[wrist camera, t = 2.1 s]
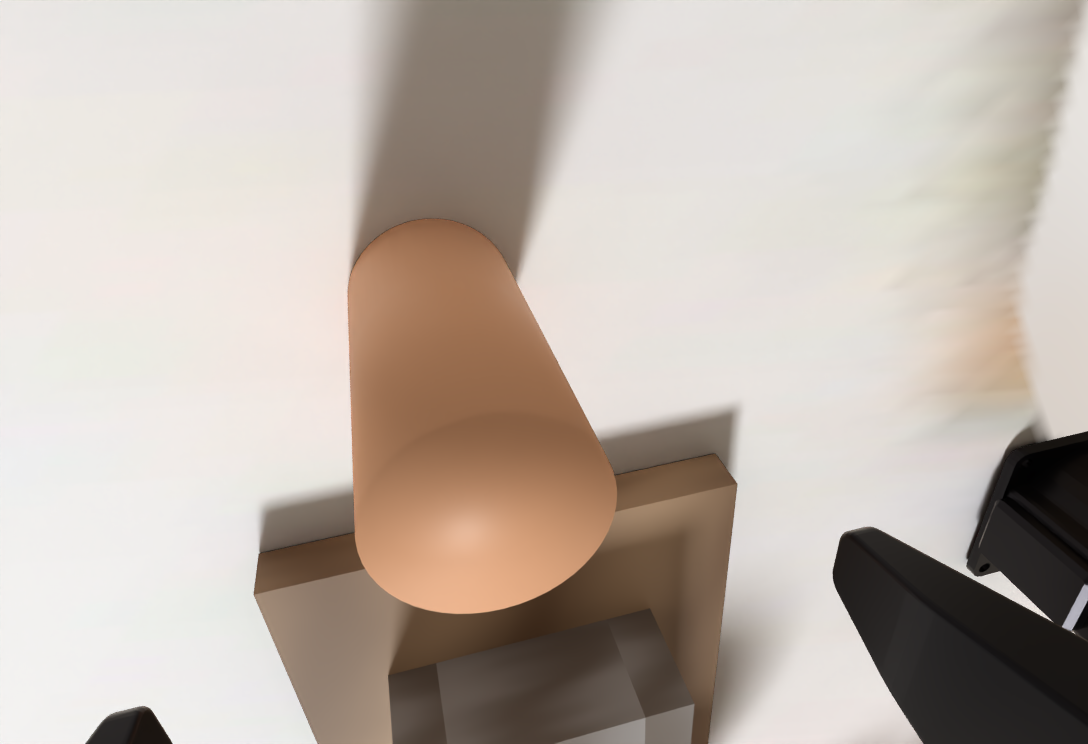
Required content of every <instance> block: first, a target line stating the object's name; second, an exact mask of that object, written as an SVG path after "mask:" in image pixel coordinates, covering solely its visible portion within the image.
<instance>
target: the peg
mask: <svg viewBox="0 0 1088 744" xmlns="http://www.w3.org/2000/svg"><path fill="white" fill-rule="evenodd" d="M348 327H349V360H350V392H351V425H352V458H353V491H354V523H355V542H356V547H357V552H358V554H359V557H360V559H361V562H362V564H363V566H364V567H365V569H366V571H367V572H368V574H369V575H370V576H371V577H372V579H373V580H374V581H375V582H376V583H377V584H378V585H379V586H380V587H381V588H383V589H384V590H385V591H386V592H388V593H389V594H391V595H392V596H394V597H396V598H397V599H399V600H401V601H403V602H405V603H408V604H410V605H412V606H415V607H419V608H422V609H425V610H430V611H435V612H441V613H452V614H473V613H482V612H490V611H495V610H500V609H505V608H508V607H511V606H515V605H518V604H521V603H524V602H526V601H529V600H531V599H534V598H536V597H538V596H540V595H542V594H544V593H546V592H548V591H550V590H551V589H553V588H555V587H556V586H558V585H560V584H561V583H563V582H564V581H565V580H567V579H568V578H569V577H571V576H572V575H573V574H575V573H576V572H577V571H578V570H579V569H580V568H581V567H582V566H583V565H584V564H585V563H586V562H587V561H588V560H589V559H590V558H591V557H592V556H593V554H594V553H595V552H596V550H597V549H598V548H599V546H600V545H601V543H602V542H603V540H604V538H605V536H606V535H607V533H608V531H609V528H610V526H611V523H612V521H613V518H614V514H615V509H616V503H617V486H616V479H615V476H614V472H613V469H612V467H611V464H610V462H609V460H608V458H607V456H606V454H605V452H604V450H603V449H602V447H601V445H600V443H599V441H598V439H597V437H596V435H595V433H594V431H593V429H592V427H591V425H590V424H589V422H588V420H587V418H586V416H585V414H584V412H583V410H582V408H581V406H580V404H579V402H578V400H577V398H576V397H575V395H574V393H573V391H572V389H571V387H570V385H569V383H568V381H567V379H566V377H565V375H564V373H563V372H562V370H561V368H560V366H559V364H558V362H557V360H556V358H555V356H554V354H553V352H552V350H551V348H550V347H549V345H548V343H547V341H546V339H545V337H544V335H543V333H542V331H541V329H540V327H539V325H538V323H537V321H536V320H535V318H534V316H533V314H532V312H531V310H530V308H529V306H528V304H527V302H526V300H525V298H524V296H523V295H522V293H521V291H520V289H519V287H518V285H517V283H516V281H515V279H514V277H513V275H512V273H511V271H510V269H509V268H508V266H507V264H506V262H505V260H504V258H503V256H502V255H501V253H500V252H499V250H498V249H497V248H496V247H495V245H494V244H493V243H492V242H491V241H490V240H489V239H487V238H486V237H485V236H484V235H483V234H481V233H480V232H478V231H476V230H475V229H473V228H471V227H469V226H467V225H464V224H462V223H458V222H455V221H451V220H445V219H431V218H430V219H419V220H414V221H409V222H406V223H403V224H400V225H397V226H395V227H393V228H391V229H389V230H387V231H386V232H384V233H383V234H381V235H380V236H378V237H377V238H376V239H375V240H374V241H372V242H371V243H370V244H369V245H368V246H367V247H366V249H365V250H364V251H363V252H362V254H361V255H360V257H359V258H358V260H357V261H356V263H355V266H354V268H353V270H352V273H351V276H350V279H349V285H348Z"/></svg>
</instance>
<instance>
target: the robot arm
mask: <svg viewBox="0 0 1088 744" xmlns="http://www.w3.org/2000/svg"><path fill="white" fill-rule="evenodd" d="M966 567H967V568H968V569H969V570H970V571H971V572H972V573H973V574H974V575H975V576H977V577H978V576H983V575H987V574H991V573H995V572H998V571H1001V572H1002V573H1003V574H1004V575H1005V576H1006V577H1007V578H1008V579H1009V580H1010V581H1011V582H1012V583H1013V584H1014V585H1015V586H1016V587H1017V588H1018V589H1019V590H1020V591H1021V592H1022V593H1024V594H1025V595H1026V596H1027V597H1028V598H1029V599H1030V600H1031V601H1032V602H1033V603H1034V604H1035V605H1036V606H1037V607H1038V608H1039V609H1040V610H1041V611H1042V612H1043V613H1044V614H1045V615H1047V616H1048V617H1049V618H1050V619H1051V620H1052V621H1053V622H1054V623H1053V622H1052V621H1050V620H1048V619H1046V618H1044V617H1042V616H1040V615H1038V614H1037V613H1035V612H1033V611H1031V610H1029V609H1027V608H1025V607H1023V606H1022V605H1020V604H1018V603H1016V602H1014V601H1012V600H1010V599H1008V598H1007V597H1005V596H1003V595H1001V594H999V593H997V592H995V591H993V590H992V589H990V588H988V587H986V586H984V585H982V584H980V583H978V582H977V581H975V580H973V579H971V578H969V577H967V576H965V575H963V574H962V573H960V572H958V571H956V570H954V569H952V568H950V567H948V566H947V565H945V564H943V563H941V562H939V561H937V560H935V559H933V558H932V557H930V556H928V555H926V554H924V553H922V552H920V551H918V550H917V549H915V548H913V547H911V546H909V545H907V544H905V543H903V542H902V541H900V540H898V539H896V538H894V537H892V536H890V535H888V534H887V533H885V532H883V531H881V530H879V529H877V528H874V527H863V528H859V529H855V530H851V531H847V532H845V533H844V534H843V535H842V536H841V538H840V541H839V546H838V550H837V554H836V559H835V563H834V568H833V581H834V585H835V588H836V590H837V592H838V594H839V596H840V598H841V600H842V602H843V603H844V605H845V607H846V609H847V611H848V613H849V615H850V617H851V619H852V621H853V623H854V625H855V627H856V628H857V630H858V632H859V634H860V636H861V638H862V640H863V642H864V644H865V646H866V648H867V650H868V652H869V653H870V655H871V657H872V659H873V661H874V663H875V665H876V667H877V669H878V671H879V673H880V675H881V676H882V678H883V680H884V682H885V684H886V685H887V687H888V689H889V691H890V692H891V694H892V696H893V697H894V699H895V700H896V702H897V704H898V705H899V707H900V708H901V710H902V712H903V713H904V715H905V716H906V718H907V719H908V721H909V722H910V724H911V725H912V727H913V728H914V730H915V731H916V733H917V735H918V736H919V738H920V739H921V741H922V742H923V744H1088V431H1087V432H1083V433H1079V434H1075V435H1070V436H1066V437H1062V438H1058V439H1054V440H1049V441H1045V442H1041V443H1037V444H1032V445H1028V446H1024V447H1020V448H1018V449H1016V450H1014V451H1013V452H1012V453H1011V454H1010V455H1009V456H1008V457H1007V459H1006V461H1005V464H1004V467H1003V469H1002V472H1001V474H1000V477H999V480H998V482H997V485H996V488H995V490H994V493H993V496H992V498H991V501H990V503H989V506H988V509H987V511H986V514H985V517H984V519H983V522H982V525H981V527H980V530H979V533H978V535H977V538H976V540H975V543H974V546H973V548H972V551H971V554H970V556H969V559H968V562H967V566H966ZM1072 631H1073V632H1074V633H1075V634H1074V633H1072ZM85 744H172V742H171V740H170V738H169V737H168V735H167V734H166V732H165V730H164V729H163V727H162V726H161V724H160V722H159V721H158V719H157V718H156V716H155V715H154V713H153V712H152V710H151V709H150V708H148V707H145V706H140V707H136V708H132V709H128V710H124V711H119V712H115V713H113V714H111V715H109V716H108V717H106V718H105V719H104V720H103V721H102V722H101V724H100V725H99V726H98V727H97V729H96V730H95V731H94V733H93V734H92V735H91V737H90V738H89V739H88V741H87V742H86V743H85Z"/></svg>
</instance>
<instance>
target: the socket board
mask: <svg viewBox="0 0 1088 744" xmlns="http://www.w3.org/2000/svg"><path fill="white" fill-rule="evenodd" d="M615 479H616V486H617V503H616V509H615V514H614V518H613V521H612V523H611V526H610V528H609V531H608V533H607V535H606V536H605V538H604V540H603V542H602V543H601V545H600V546H599V548H598V549H597V550H596V552H595V553H594V554H593V556H592V557H591V558H590V559H589V560H588V561H587V562H586V563H585V564H584V565H583V566H582V567H581V568H580V569H579V570H578V571H577V572H576V573H575V574H573V575H572V576H571V577H569V578H568V579H567V580H565V581H564V582H563V583H561V584H560V585H558V586H556V587H555V588H553V589H551V590H550V591H548V592H546V593H544V594H542V595H540V596H538V597H536V598H534V599H531V600H529V601H526V602H524V603H521V604H518V605H515V606H511V607H508V608H505V609H500V610H495V611H490V612H482V613H473V614H452V613H441V612H435V611H430V610H425V609H422V608H419V607H415V606H412V605H410V604H408V603H405V602H403V601H401V600H399V599H397V598H396V597H394V596H392V595H391V594H389V593H388V592H386V591H385V590H384V589H383V588H381V587H380V586H379V585H378V584H377V583H376V582H375V581H374V580H373V579H372V577H371V576H370V575H369V574H368V572H367V571H366V569H365V567H364V566H363V564H362V562H361V559H360V557H359V554H358V552H357V547H356V542H355V533H351V534H347V535H342V536H338V537H333V538H329V539H324V540H319V541H315V542H310V543H306V544H301V545H297V546H292V547H288V548H283V549H278V550H274V551H269V552H265V553H260V554H259V556H258V564H257V572H256V580H255V588H254V597H255V599H256V601H257V604H258V606H259V608H260V611H261V613H262V615H263V618H264V620H265V622H266V625H267V627H268V629H269V632H270V634H271V636H272V639H273V641H274V643H275V646H276V648H277V650H278V653H279V655H280V657H281V660H282V662H283V664H284V667H285V669H286V671H287V674H288V676H289V678H290V681H291V683H292V685H293V688H294V690H295V692H296V695H297V697H298V699H299V702H300V704H301V706H302V709H303V711H304V713H305V716H306V718H307V720H308V723H309V725H310V727H311V730H312V732H313V734H314V737H315V739H316V741H317V743H318V744H708V738H709V729H710V720H711V712H712V703H713V694H714V685H715V676H716V668H717V659H718V650H719V641H720V632H721V624H722V615H723V606H724V597H725V588H726V580H727V571H728V562H729V553H730V544H731V536H732V527H733V518H734V509H735V500H736V492H737V483H736V481H735V480H734V479H733V477H732V476H731V474H730V473H729V472H728V470H727V469H726V468H725V466H724V465H723V463H722V462H721V461H720V459H719V458H718V457H717V455H716V454H711V455H706V456H702V457H697V458H693V459H688V460H683V461H679V462H674V463H670V464H665V465H661V466H656V467H652V468H647V469H643V470H638V471H633V472H629V473H624V474H620V475H615Z"/></svg>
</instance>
